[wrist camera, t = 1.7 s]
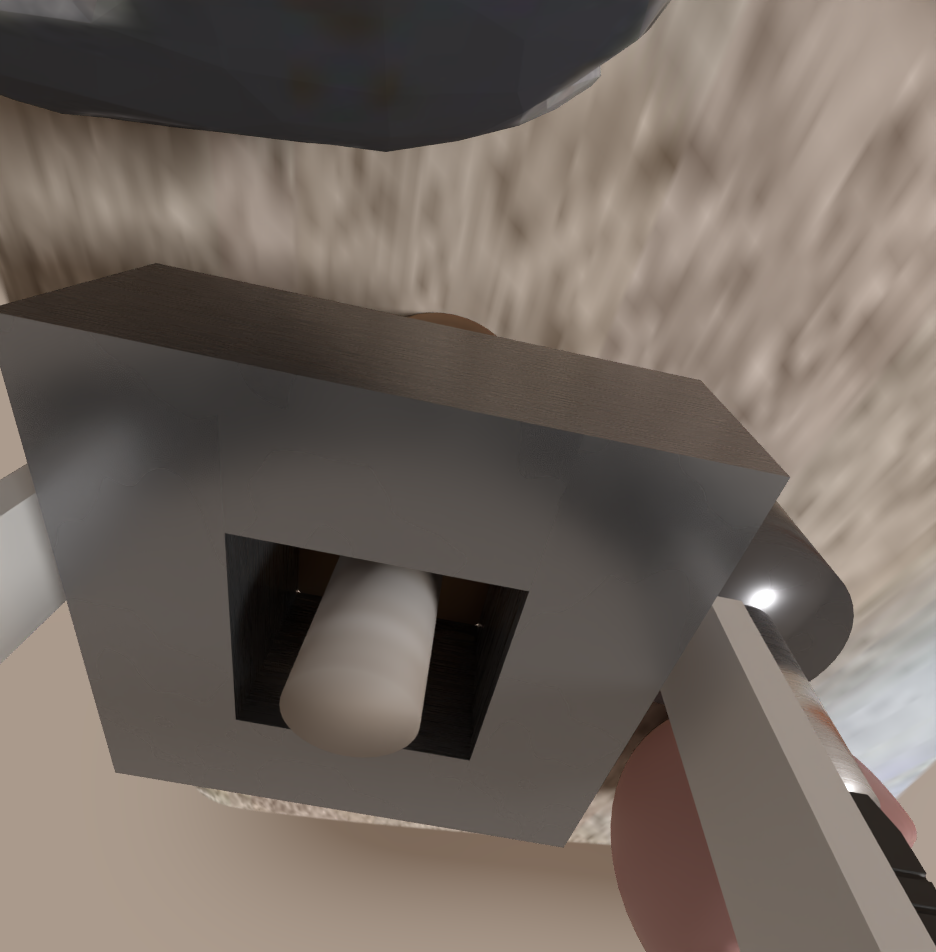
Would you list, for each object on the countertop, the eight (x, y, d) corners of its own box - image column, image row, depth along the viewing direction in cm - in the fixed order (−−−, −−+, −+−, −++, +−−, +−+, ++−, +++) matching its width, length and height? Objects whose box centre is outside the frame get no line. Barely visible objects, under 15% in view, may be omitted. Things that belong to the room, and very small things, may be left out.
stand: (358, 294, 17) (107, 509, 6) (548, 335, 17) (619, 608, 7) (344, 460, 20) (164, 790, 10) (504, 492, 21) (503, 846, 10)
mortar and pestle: (750, 807, 31) (866, 1106, 21) (560, 764, 30) (587, 1058, 20) (887, 682, 25) (1138, 1020, 15) (653, 624, 24) (759, 946, 14)
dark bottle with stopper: (616, 426, 19) (728, 687, 9) (798, 465, 19) (1085, 753, 10) (561, 570, 22) (602, 863, 13) (715, 600, 23) (865, 906, 13)
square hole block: (155, 263, 9) (-16, 309, 6) (700, 380, 10) (789, 477, 7) (197, 644, 14) (115, 772, 11) (551, 708, 15) (563, 847, 12)
